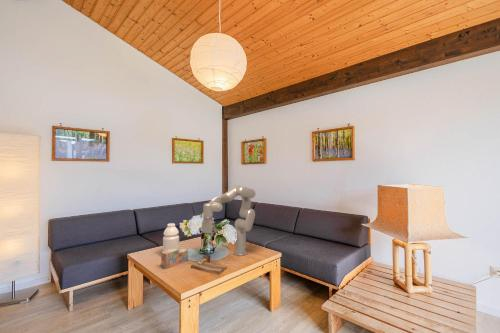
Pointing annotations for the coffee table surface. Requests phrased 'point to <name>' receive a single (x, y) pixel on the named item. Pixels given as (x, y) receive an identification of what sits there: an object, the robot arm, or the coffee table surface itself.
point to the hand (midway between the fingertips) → (207, 239)
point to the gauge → (205, 259)
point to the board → (209, 267)
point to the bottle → (170, 237)
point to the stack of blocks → (173, 257)
